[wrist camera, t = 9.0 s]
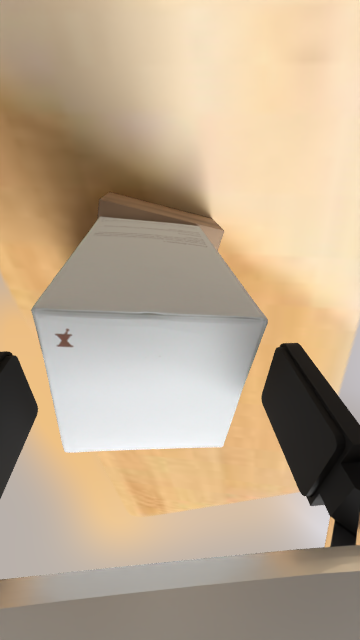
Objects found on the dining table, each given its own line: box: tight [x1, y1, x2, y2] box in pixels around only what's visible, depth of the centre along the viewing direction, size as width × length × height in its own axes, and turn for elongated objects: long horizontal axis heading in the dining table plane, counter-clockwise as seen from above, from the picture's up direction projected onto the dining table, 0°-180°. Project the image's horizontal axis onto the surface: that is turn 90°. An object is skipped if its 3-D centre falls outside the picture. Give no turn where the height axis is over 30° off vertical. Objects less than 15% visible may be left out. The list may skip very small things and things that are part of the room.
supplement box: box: [31, 217, 268, 452], centre depth 15 cm, size 7×7×13 cm
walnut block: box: [97, 192, 224, 251], centre depth 23 cm, size 9×9×5 cm
